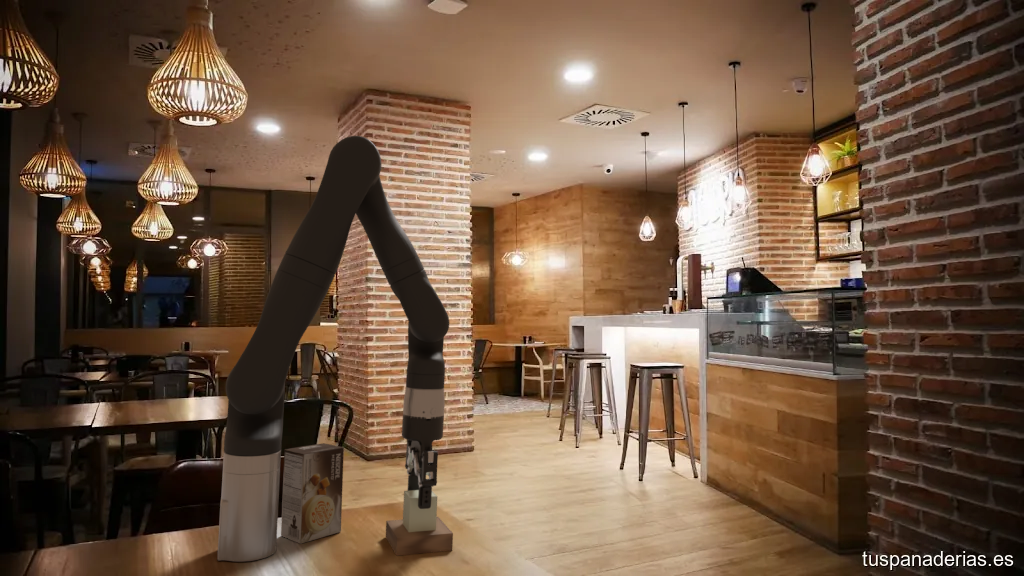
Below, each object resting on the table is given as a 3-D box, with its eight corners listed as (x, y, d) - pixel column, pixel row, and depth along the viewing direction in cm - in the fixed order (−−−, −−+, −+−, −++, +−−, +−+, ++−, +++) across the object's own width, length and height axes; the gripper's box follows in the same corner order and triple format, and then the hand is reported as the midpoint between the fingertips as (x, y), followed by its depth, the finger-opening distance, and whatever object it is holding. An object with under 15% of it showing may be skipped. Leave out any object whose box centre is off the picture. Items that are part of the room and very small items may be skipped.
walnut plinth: (396, 555, 115) (397, 537, 115) (385, 537, 125) (386, 520, 125) (452, 550, 119) (453, 533, 119) (437, 532, 128) (438, 516, 128)
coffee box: (320, 525, 130) (324, 442, 131) (341, 532, 126) (345, 447, 127) (279, 536, 123) (283, 448, 123) (300, 544, 119) (304, 453, 120)
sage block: (408, 532, 119) (410, 498, 119) (402, 523, 123) (404, 490, 124) (436, 529, 120) (437, 496, 121) (429, 521, 125) (430, 489, 125)
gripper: (395, 406, 128) (390, 492, 127) (412, 418, 115) (406, 514, 114) (433, 406, 131) (429, 490, 130) (454, 418, 117) (449, 511, 117)
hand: (418, 501), depth 122 cm, fingers open, 8 cm apart
